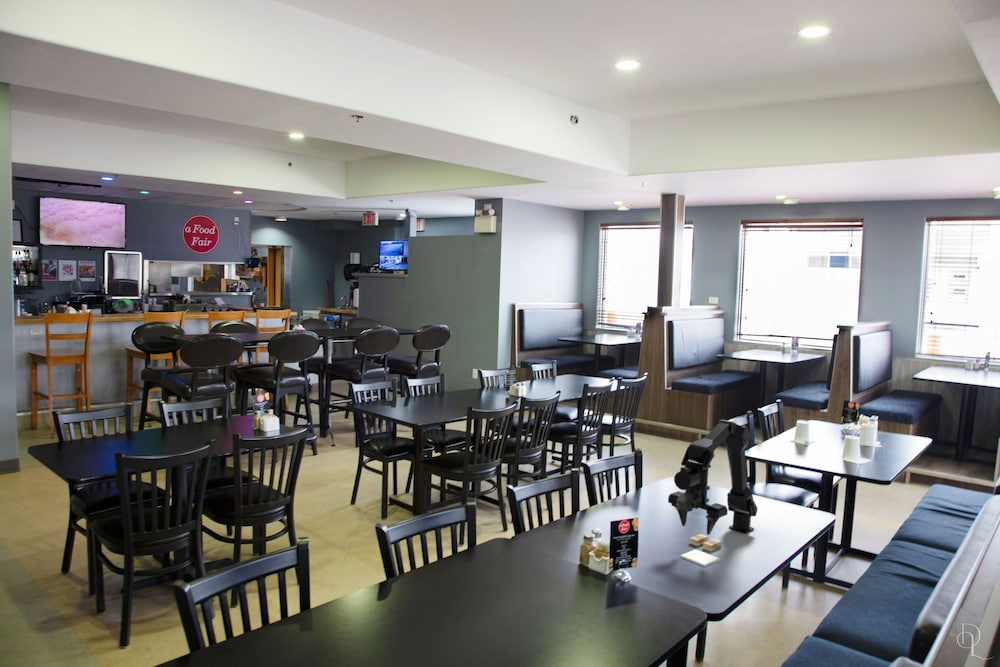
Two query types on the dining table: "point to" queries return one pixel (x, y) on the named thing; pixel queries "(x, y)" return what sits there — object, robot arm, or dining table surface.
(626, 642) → the dining table surface
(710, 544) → the oak holder
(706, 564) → the white board
